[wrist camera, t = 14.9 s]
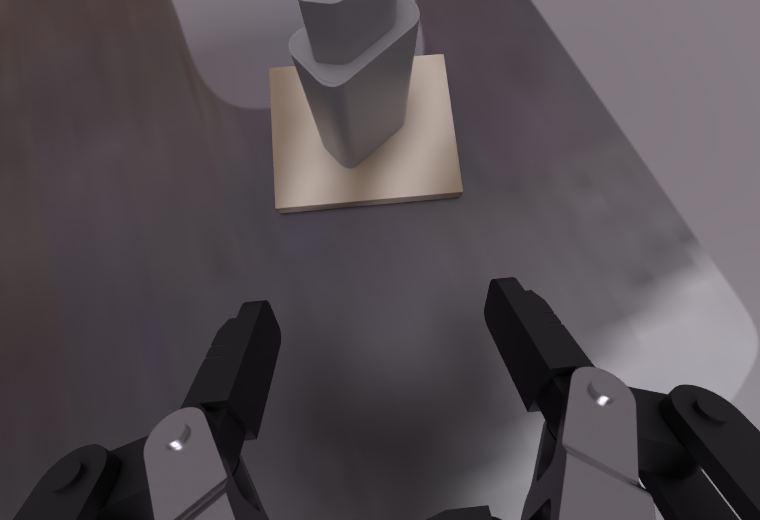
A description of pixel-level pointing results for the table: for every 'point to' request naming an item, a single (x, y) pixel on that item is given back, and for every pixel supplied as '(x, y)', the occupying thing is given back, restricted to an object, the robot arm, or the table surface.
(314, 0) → the power adapter
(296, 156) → the birch board
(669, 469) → the robot arm
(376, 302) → the table surface
